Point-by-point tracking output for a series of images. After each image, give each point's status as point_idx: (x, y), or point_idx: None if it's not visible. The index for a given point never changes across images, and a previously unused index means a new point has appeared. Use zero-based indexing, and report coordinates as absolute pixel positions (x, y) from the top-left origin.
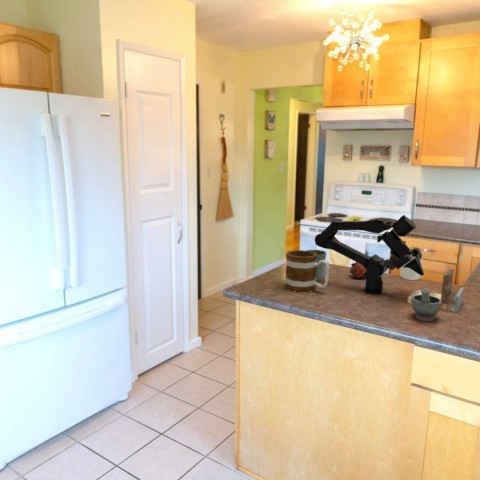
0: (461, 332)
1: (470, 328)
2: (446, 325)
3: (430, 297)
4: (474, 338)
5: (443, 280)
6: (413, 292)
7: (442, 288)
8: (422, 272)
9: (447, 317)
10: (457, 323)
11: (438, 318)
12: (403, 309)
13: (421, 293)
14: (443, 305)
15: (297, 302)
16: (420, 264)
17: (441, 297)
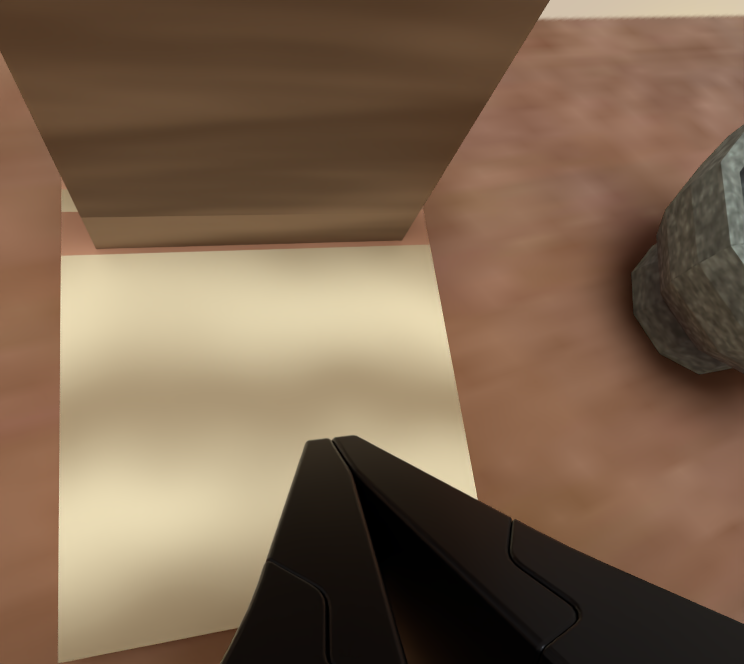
0: (723, 76)
1: (628, 40)
2: (697, 158)
3: (736, 226)
4: (740, 19)
5: (510, 49)
6: (225, 621)
7: (460, 138)
8: (387, 453)
9: (558, 175)
10: (612, 107)
11: (626, 223)
12: (666, 516)
13: (195, 513)
14: (420, 214)
15: None
16: (357, 570)
17: (421, 205)
